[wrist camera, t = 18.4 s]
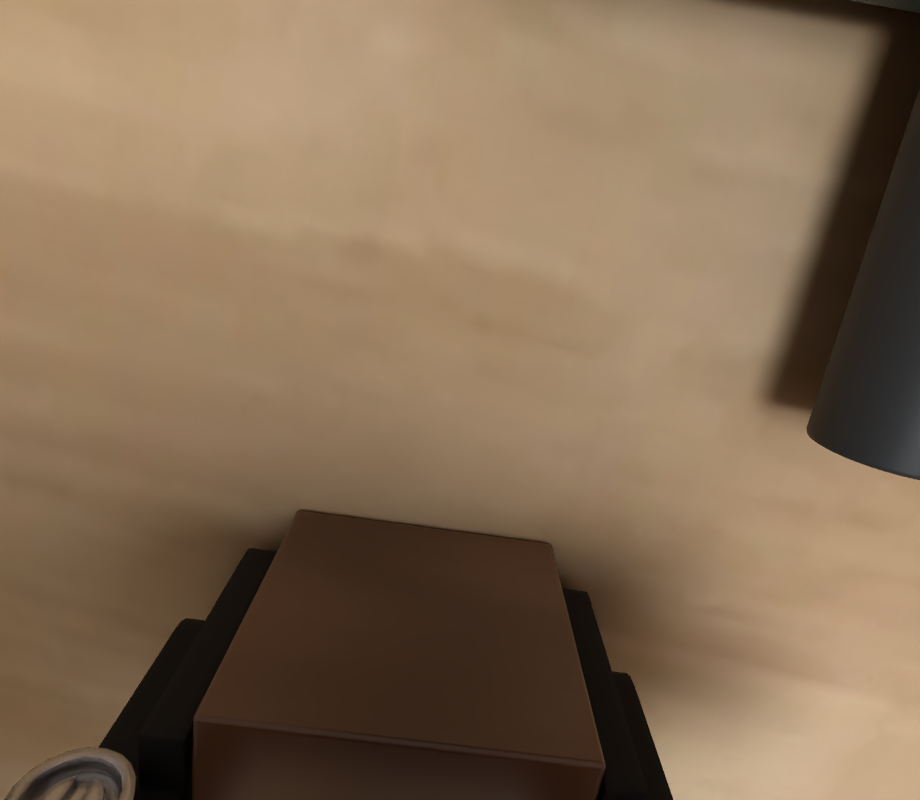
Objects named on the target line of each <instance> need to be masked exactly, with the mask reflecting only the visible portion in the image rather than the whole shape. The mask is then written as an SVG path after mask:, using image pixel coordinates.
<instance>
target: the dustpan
mask: <svg viewBox="0 0 920 800" xmlns="http://www.w3.org/2000/svg"><path fill="white" fill-rule="evenodd" d="M850 1H856V2H861V3H867V4H873V5H878V6H884V7H890V8H895V9H901V10H907V11H912V12H918V13H920V0H850ZM807 433H808V435H809V437H810V438H811V439H813V440H814V441H815V442H817V443H818V444H820V445H822V446H823V447H825V448H827V449H828V450H830V451H832V452H834V453H837V454H839V455H841V456H843V457H846V458H848V459H850V460H853V461H856V462H858V463H861V464H864V465H867V466H869V467H873V468H876V469H879V470H882V471H885V472H889V473H892V474H896V475H900V476H904V477H908V478H912V479H917V480H920V88H919V91H918V94H917V97H916V100H915V103H914V106H913V109H912V112H911V115H910V118H909V121H908V124H907V127H906V130H905V133H904V136H903V139H902V142H901V145H900V148H899V151H898V154H897V157H896V160H895V163H894V166H893V169H892V172H891V175H890V178H889V181H888V184H887V187H886V190H885V193H884V196H883V199H882V202H881V205H880V208H879V211H878V214H877V217H876V220H875V223H874V226H873V229H872V232H871V235H870V238H869V241H868V244H867V248H866V251H865V254H864V257H863V260H862V263H861V266H860V269H859V272H858V275H857V278H856V281H855V284H854V287H853V290H852V293H851V296H850V299H849V302H848V305H847V308H846V311H845V314H844V317H843V320H842V323H841V326H840V329H839V332H838V335H837V338H836V341H835V344H834V347H833V350H832V353H831V356H830V359H829V362H828V365H827V368H826V371H825V374H824V377H823V380H822V383H821V386H820V389H819V392H818V395H817V398H816V401H815V404H814V407H813V410H812V413H811V416H810V419H809V422H808V425H807Z"/></svg>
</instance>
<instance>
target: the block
mask: <svg viewBox="0 0 920 800" xmlns="http://www.w3.org/2000/svg"><path fill="white" fill-rule="evenodd" d="M605 767H606V765H605V761H604V757H603V753H602V749H601V745H600V741H599V737H598V733H597V729H596V725H595V720H594V716H593V712H592V708H591V704H590V700H589V696H588V692H587V688H586V684H585V680H584V676H583V672H582V668H581V664H580V660H579V656H578V651H577V647H576V643H575V639H574V635H573V631H572V627H571V623H570V619H569V615H568V611H567V607H566V603H565V599H564V595H563V591H562V587H561V583H560V578H559V574H558V570H557V566H556V562H555V558H554V554H553V550H552V546H551V545H550V544H545V543H538V542H530V541H523V540H515V539H508V538H500V537H493V536H485V535H478V534H470V533H463V532H455V531H448V530H440V529H433V528H425V527H418V526H410V525H403V524H395V523H388V522H380V521H373V520H365V519H358V518H350V517H343V516H335V515H328V514H320V513H313V512H305V511H298V512H297V514H296V516H295V518H294V520H293V522H292V523H291V525H290V527H289V529H288V531H287V533H286V535H285V537H284V539H283V541H282V543H281V545H280V547H279V549H278V551H277V553H276V555H275V557H274V559H273V561H272V563H271V565H270V567H269V569H268V571H267V573H266V575H265V577H264V579H263V581H262V583H261V585H260V587H259V589H258V591H257V593H256V595H255V597H254V599H253V601H252V603H251V605H250V606H249V608H248V610H247V612H246V614H245V616H244V618H243V620H242V622H241V624H240V626H239V628H238V630H237V632H236V634H235V636H234V638H233V640H232V642H231V644H230V646H229V648H228V650H227V652H226V654H225V656H224V658H223V660H222V662H221V664H220V666H219V668H218V670H217V672H216V674H215V676H214V678H213V680H212V682H211V684H210V686H209V688H208V690H207V691H206V693H205V695H204V697H203V699H202V701H201V703H200V705H199V707H198V709H197V711H196V713H195V715H194V717H193V770H192V800H596V798H597V795H598V791H599V788H600V785H601V781H602V778H603V775H604V771H605Z"/></svg>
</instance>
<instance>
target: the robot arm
mask: <svg viewBox="0 0 920 800" xmlns="http://www.w3.org/2000/svg"><path fill="white" fill-rule="evenodd" d="M276 553H277V551H270V550H262V549H255V548H249V549H248V550H247V551H246V553H245V554H244V556H243V558H242V560H241V561H240V563H239V565H238V566H237V568H236V570H235V571H234V573H233V575H232V576H231V578H230V580H229V582H228V583H227V585H226V587H225V588H224V590H223V592H222V593H221V595H220V597H219V598H218V600H217V602H216V604H215V605H214V607H213V609H212V610H211V612H210V614H209V615H208V617H207V619H206V621H204V620H196V619H188V618H186V619H184V620H182V621H181V622H180V623H179V625H178V626H177V627H176V629H175V630H174V632H173V633H172V635H171V636H170V638H169V640H168V641H167V643H166V644H165V646H164V647H163V649H162V650H161V652H160V653H159V655H158V656H157V658H156V660H155V661H154V663H153V664H152V666H151V667H150V669H149V670H148V672H147V673H146V675H145V677H144V678H143V680H142V681H141V683H140V684H139V686H138V687H137V689H136V690H135V692H134V694H133V695H132V697H131V698H130V700H129V701H128V703H127V704H126V706H125V707H124V709H123V711H122V712H121V714H120V715H119V717H118V718H117V720H116V721H115V723H114V724H113V726H112V728H111V729H110V731H109V732H108V734H107V735H106V737H105V738H104V740H103V741H102V743H101V745H100V746H99V748H89V747H88V748H83V749H77V750H72V751H68V752H65V753H63V754H60V755H58V756H55V757H53V758H50V759H48V760H46V761H45V762H43V763H41V764H40V765H38V766H37V767H35V768H34V769H32V770H30V771H29V772H28V773H27V774H26V775H25V776H24V777H22V778H21V779H20V780H19V781H18V782H17V783H16V784H15V785H14V786H13V787H12V789H11V790H10V792H9V793H8V795H7V796H6V798H5V799H4V800H192V770H193V717H194V715H195V713H196V711H197V709H198V707H199V705H200V703H201V701H202V699H203V697H204V695H205V693H206V691H207V690H208V688H209V686H210V684H211V682H212V680H213V678H214V676H215V674H216V672H217V670H218V668H219V666H220V664H221V662H222V660H223V658H224V656H225V654H226V652H227V650H228V648H229V646H230V644H231V642H232V640H233V638H234V636H235V634H236V632H237V630H238V628H239V626H240V624H241V622H242V620H243V618H244V616H245V614H246V612H247V610H248V608H249V606H250V605H251V603H252V601H253V599H254V597H255V595H256V593H257V591H258V589H259V587H260V585H261V583H262V581H263V579H264V577H265V575H266V573H267V571H268V569H269V567H270V565H271V563H272V561H273V559H274V557H275V555H276ZM562 591H563V595H564V599H565V603H566V607H567V611H568V615H569V619H570V623H571V627H572V631H573V635H574V639H575V643H576V647H577V651H578V656H579V660H580V664H581V668H582V672H583V676H584V680H585V684H586V688H587V692H588V696H589V700H590V704H591V708H592V712H593V716H594V720H595V725H596V729H597V733H598V737H599V741H600V745H601V749H602V753H603V757H604V761H605V765H606V767H605V771H604V775H603V778H602V781H601V785H600V788H599V791H598V795H597V798H596V800H673V797H672V795H671V792H670V789H669V786H668V783H667V780H666V777H665V774H664V771H663V768H662V765H661V762H660V759H659V757H658V754H657V751H656V748H655V745H654V742H653V739H652V736H651V733H650V730H649V727H648V724H647V721H646V718H645V716H644V713H643V710H642V707H641V704H640V701H639V698H638V695H637V692H636V689H635V686H634V684H633V681H632V679H631V677H630V676H629V675H628V674H627V673H620V672H612V670H611V667H610V664H609V660H608V657H607V654H606V651H605V647H604V644H603V641H602V637H601V634H600V631H599V628H598V624H597V621H596V618H595V615H594V611H593V608H592V605H591V601H590V598H589V595H588V593H587V592H585V591H577V590H569V589H562Z"/></svg>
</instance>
